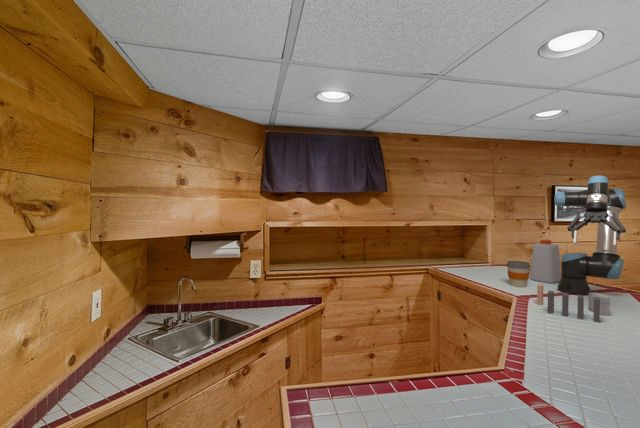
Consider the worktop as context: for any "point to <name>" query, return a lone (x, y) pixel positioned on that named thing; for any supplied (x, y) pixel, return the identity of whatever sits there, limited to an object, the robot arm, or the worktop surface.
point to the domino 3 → (580, 307)
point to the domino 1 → (550, 302)
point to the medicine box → (603, 303)
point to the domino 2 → (565, 304)
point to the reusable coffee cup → (518, 273)
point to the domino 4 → (596, 309)
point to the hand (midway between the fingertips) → (594, 244)
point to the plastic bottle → (545, 262)
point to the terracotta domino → (540, 294)
